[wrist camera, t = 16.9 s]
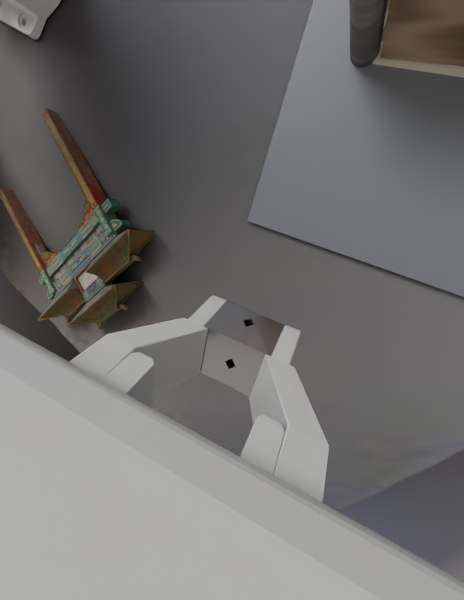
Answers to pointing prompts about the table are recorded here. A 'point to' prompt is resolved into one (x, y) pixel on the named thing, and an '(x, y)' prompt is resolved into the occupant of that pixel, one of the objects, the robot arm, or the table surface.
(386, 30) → the fence leaf
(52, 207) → the table surface
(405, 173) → the board
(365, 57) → the fixed fence
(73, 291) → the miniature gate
